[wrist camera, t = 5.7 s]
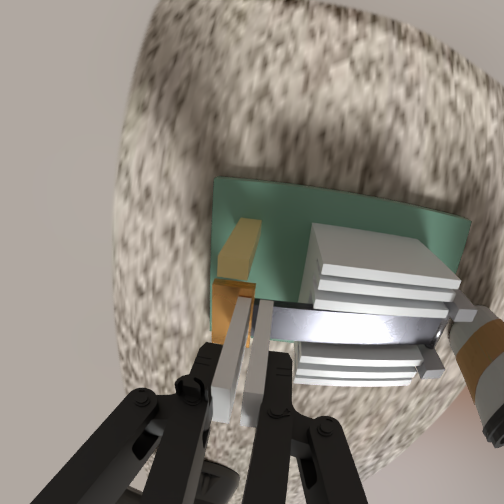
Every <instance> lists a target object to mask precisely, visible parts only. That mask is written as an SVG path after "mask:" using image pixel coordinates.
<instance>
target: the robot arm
mask: <svg viewBox="0 0 504 504" xmlns="http://www.w3.org/2000/svg"><path fill="white" fill-rule="evenodd" d="M251 299H252V298H246V297H239V296H238V299H237V302H236V305H235V309H234V312H233V315H232V319H231V322H230V325H229V329H228V332H227V335H226V338H225V342H224V345H221V344H215V343H209V342H206V343H205V344H204V345H203V346H202V347H200V349H199V351H198V354H197V357H196V359H195V361H194V364H193V366H192V369H191V371H190V374H188V375H184V376H182V377H180V378H178V379H177V381H176V382H175V389H176V393H175V394H172V395H156V394H155V393H154V392H153V391H152V390H150V389H147V388H137V389H134V390H133V391H131V392H130V393H129V394H128V395H127V396H126V397H125V398H124V400H123V401H122V402H121V403H120V404H119V405H118V406H117V407H116V409H115V410H114V411H113V412H112V413H111V414H110V415H109V416H108V418H107V419H106V420H105V421H104V422H103V423H102V424H101V425H100V426H99V428H98V429H97V430H96V431H95V432H94V433H93V434H92V435H91V436H90V438H89V439H88V440H87V441H86V442H85V443H84V444H83V445H82V446H81V448H80V449H79V450H78V451H77V452H76V453H75V454H74V455H73V457H72V458H71V459H70V460H69V461H68V462H67V463H66V464H65V465H64V467H63V468H62V469H61V470H60V471H59V472H58V473H57V474H56V475H55V476H54V478H53V479H52V480H51V481H50V482H49V483H48V484H47V485H46V487H45V488H44V489H43V490H42V491H41V492H40V493H39V494H38V495H37V496H36V498H35V499H34V500H33V501H32V502H31V503H30V504H227V503H228V502H229V500H230V499H231V497H232V496H233V494H234V492H235V491H236V489H237V488H238V485H239V480H240V477H239V475H238V474H237V473H235V472H234V471H232V470H230V469H228V468H226V467H223V466H220V465H217V464H214V463H210V462H207V461H203V460H204V456H205V452H206V447H207V443H208V439H209V434H210V424H211V420H212V421H217V422H222V423H228V424H229V422H230V417H231V413H232V408H233V404H234V399H235V394H236V390H237V385H238V380H239V376H240V371H241V366H242V361H243V357H244V352H245V347H246V342H247V337H248V330H249V320H250V309H251ZM273 303H274V301H269V300H261V299H260V303H259V309H258V315H257V321H256V326H255V332H254V337H253V343H252V348H251V354H250V359H249V365H248V370H247V376H246V381H245V386H244V392H243V401H242V410H241V420H240V425H241V426H248V427H255V428H256V433H255V438H254V442H253V449H252V454H251V459H250V464H249V470H248V475H247V480H246V485H245V490H244V495H243V500H242V504H285V501H286V492H287V483H288V473H289V463H290V455H291V456H294V457H296V459H297V463H298V468H299V472H300V477H301V481H302V486H303V490H304V495H305V499H306V503H307V504H368V502H367V499H366V496H365V492H364V489H363V487H362V484H361V481H360V478H359V475H358V472H357V469H356V466H355V463H354V460H353V457H352V454H351V452H350V449H349V446H348V443H347V440H346V437H345V435H344V432H343V429H342V426H341V425H340V423H339V421H337V420H336V419H335V418H333V417H329V416H320V417H317V418H316V419H312V418H309V417H306V416H304V415H301V414H300V413H298V412H297V411H296V410H295V409H294V407H293V405H292V359H291V357H290V355H289V353H283V352H274V351H269V342H270V333H271V323H272V313H273ZM159 443H160V444H159ZM158 445H159V447H158V449H157V452H156V455H155V458H154V461H153V464H152V467H151V470H150V473H149V476H148V479H147V482H146V485H145V488H144V490H143V492H142V491H140V490H137V489H135V488H133V487H131V486H129V485H130V483H131V482H132V481H133V479H134V478H135V476H136V475H137V474H138V472H139V471H140V470H141V468H142V467H143V466H144V464H145V463H146V461H147V460H148V459H149V457H150V456H151V454H152V453H153V452H154V450H155V449H156V448H157V446H158Z"/></svg>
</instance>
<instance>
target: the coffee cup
mask: <svg viewBox="0 0 504 504" xmlns="http://www.w3.org/2000/svg"><path fill="white" fill-rule="evenodd" d="M475 307H476V308H477V310H478V311H477V313H476V315H475V317H474V319H473V321H472V322H456V321H455V323H454V324H453V326H452V328H451V331H450V335H449V337H450V340H449V341H450V346H451V348H452V350H453V352H454V355H455V357H456V361H457V363H458V365H459V367H460V370H461V372H462V374H463V377H464V379H465V382H466V384H467V386H468V389H469V392H470V394H471V397H472V399H473V402H474V404H475V405H476V408H477V410H478V413H479V416H480V419H481V422H482V425H483V434H484V435H485V436H486V439H487V441H488V442H492V444H493V445H494V447H495V448H499V447H502V446H504V322H503V321H502V320H501V319H499V318H498V317H497V316H496V315H495V314H494V313H493V312H492V311H491V310H490V309H489V308H488V307H486V306H481V305H475Z"/></svg>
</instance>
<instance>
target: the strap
mask: <svg viewBox="0 0 504 504" xmlns="http://www.w3.org/2000/svg"><path fill="white" fill-rule="evenodd" d="M255 289H256V283H250V282H241V281H233V280H225V279H217V278H215V279H214V281H213V284H212V343H217V344H224V342H225V338H226V335H227V332H228V329H229V325H230V322H231V319H232V315H233V312H234V309H235V305H236V302H237V299H238V296H239V297H246V298H252V299H251V309H250V320H249V330H248V337H247V342H246V348H249V344H250V336H252V337H254V332H255V326H256V321H257V315H258V309H259V303H260V298H255ZM261 300H268V299H261ZM269 301H274V303H273V313H272V323H271V333H270V339H280V340H291V341H304V342H318V343H335V344H361V345H420V344H424V346H425V347H426V348H428V349H434V348H435V346H436V344H437V342H438V341H439V339H440V337H441V335H442V333H443V331H444V329H445V327H446V325H447V323H448V320H449V318H450V316H449V314H447V316H446V318H429V317H410V316H394V315H379V314H366V313H355V312H343V311H333V310H323V309H314V308H313V304H308V303H297V302H287V301H278V300H269Z"/></svg>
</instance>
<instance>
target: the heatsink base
mask: <svg viewBox="0 0 504 504" xmlns="http://www.w3.org/2000/svg"><path fill="white" fill-rule="evenodd" d="M471 222H472V221H470V220H468V219H467V218H465V217H461V216H457V215H454V214H450V213H446V212H442V211H438V210H434V209H430V208H425V207H421V206H417V205H412V204H408V203H403V202H398V201H393V200H389V199H384V198H378V197H373V196H368V195H362V194H357V193H351V192H345V191H339V190H333V189H326V188H320V187H313V186H306V185H298V184H291V183H283V182H274V181H265V180H256V179H246V178H235V177H223V176H217V177H215V178H214V186H213V206H212V230H211V264H210V331H212V284H213V281H214V279H215V278H217V279H225V280H233V281H241V282H250V283H256V289H255V298H260V299H268V300H278V301H287V302H297V303H308V304H313V308H314V309H323V310H333V311H343V312H355V313H366V314H379V315H394V316H410V317H429V318H446V316H447V314H449V316H450V317H451V318H452V320H453V321H456V322H472V321H473V319H474V317H475V315H476V313H477V311H478V310H477V308H476V307H475V306H474V305H473V304H472V303H471V301H470V300H469V299H468V298H467V297H466V296H465V295H464V294H463V292H462V291H461V290H460V289H459V286H460V283H461V280H460V279H459V278H458V277H457V276H456V275H455V274H456V271H457V269H458V266H459V263H460V260H461V257H462V254H463V250H464V247H465V244H466V240H467V237H468V233H469V230H470V226H471ZM250 337H251V338H253V337H252V336H250ZM270 340H273V341H282V342H290V343H294V376H293V383H299V384H312V385H328V386H404V385H409V384H410V382H411V381H412V379H411V377H414V376H415V374H416V373H417V371H416V368H417V370H418V373H419V375H420V378H421V379H433V378H440V377H441V375H442V374H443V372H444V371H445V368H444V366H443V364H442V362H441V360H440V358H439V356H438V354H437V352H436V350H435V348H434V349H428V348H426V347H425V346H424V344H420V345H361V344H335V343H318V342H304V341H291V340H280V339H270ZM221 345H224V344H221ZM415 366H416V368H415Z"/></svg>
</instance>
